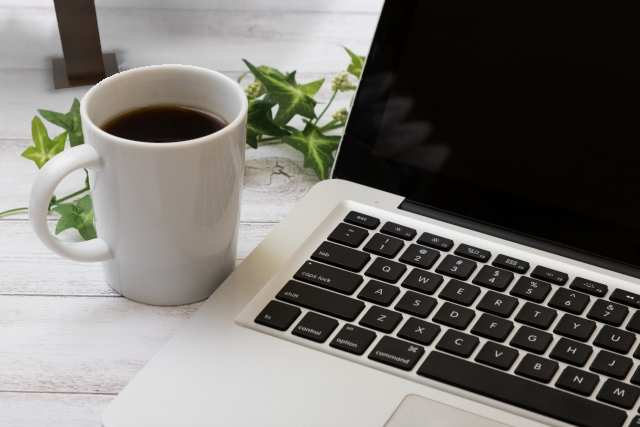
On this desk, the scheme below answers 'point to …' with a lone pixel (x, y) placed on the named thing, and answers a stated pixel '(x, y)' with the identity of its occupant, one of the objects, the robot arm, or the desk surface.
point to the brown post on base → (80, 46)
